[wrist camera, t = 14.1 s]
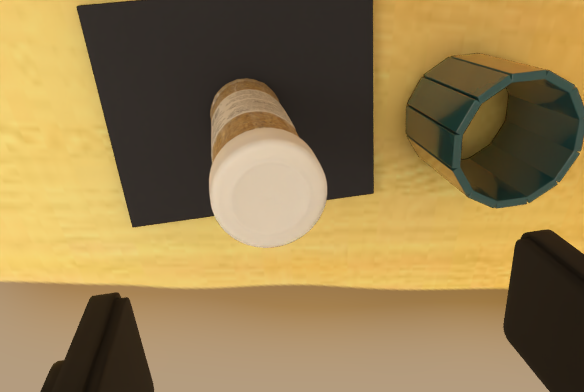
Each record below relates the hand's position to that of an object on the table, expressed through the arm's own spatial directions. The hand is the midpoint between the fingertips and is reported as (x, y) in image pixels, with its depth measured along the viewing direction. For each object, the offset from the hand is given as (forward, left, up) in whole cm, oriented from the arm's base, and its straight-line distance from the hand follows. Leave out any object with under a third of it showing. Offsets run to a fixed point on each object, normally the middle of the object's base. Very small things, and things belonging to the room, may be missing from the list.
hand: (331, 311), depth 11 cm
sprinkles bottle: (+1, 0, -21) cm, 21 cm away
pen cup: (-14, +2, -21) cm, 26 cm away
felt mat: (+1, 0, -21) cm, 21 cm away
